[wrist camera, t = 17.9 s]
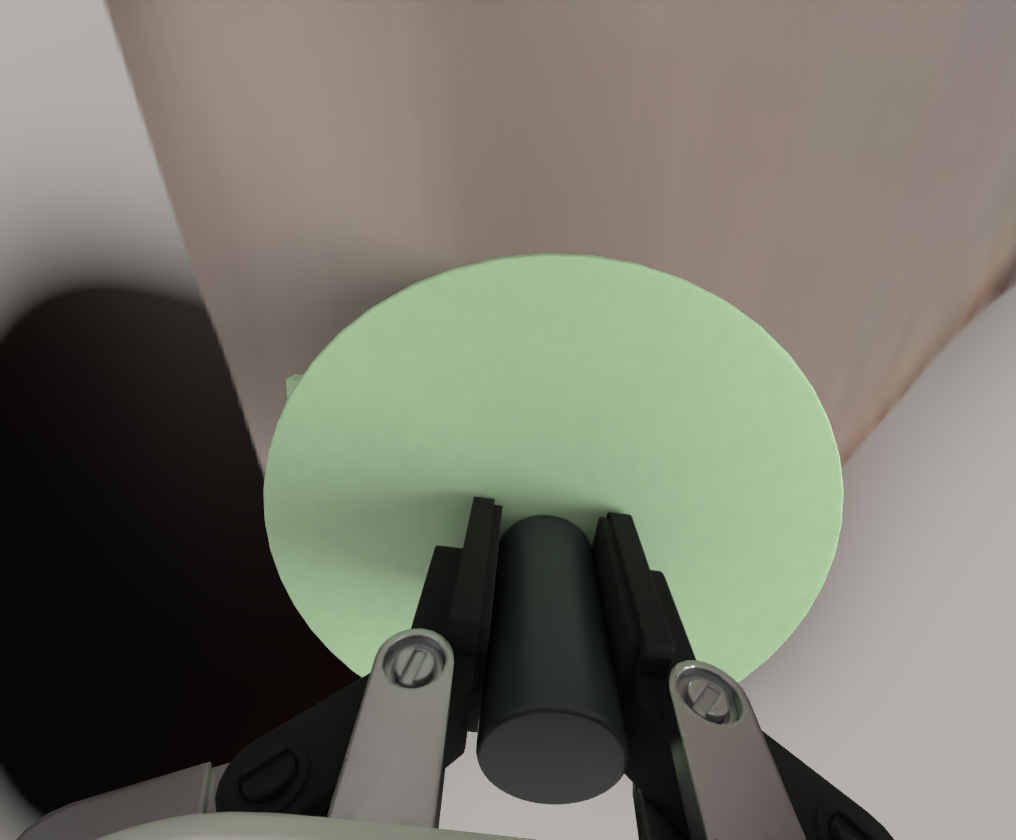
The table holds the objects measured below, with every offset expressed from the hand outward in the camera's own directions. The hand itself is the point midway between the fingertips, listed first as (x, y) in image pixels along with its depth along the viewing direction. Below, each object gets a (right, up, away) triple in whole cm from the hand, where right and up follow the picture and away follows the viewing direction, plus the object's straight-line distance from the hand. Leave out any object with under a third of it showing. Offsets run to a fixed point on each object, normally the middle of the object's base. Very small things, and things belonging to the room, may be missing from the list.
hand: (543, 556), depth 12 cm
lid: (0, 0, +1) cm, 1 cm away
